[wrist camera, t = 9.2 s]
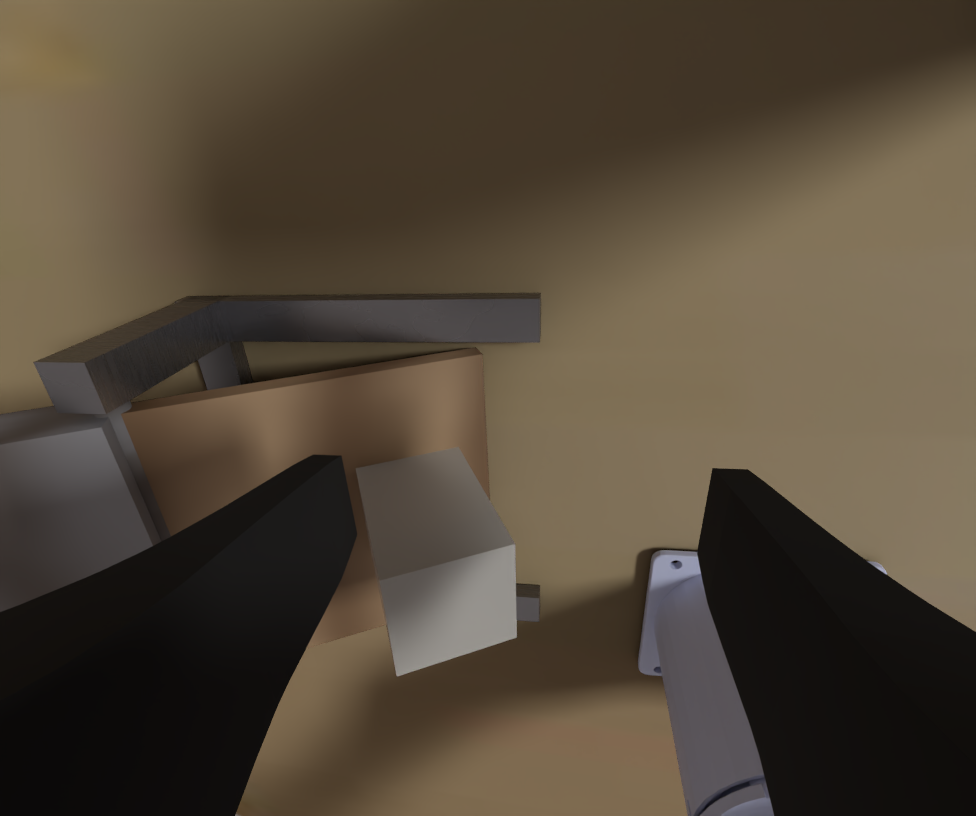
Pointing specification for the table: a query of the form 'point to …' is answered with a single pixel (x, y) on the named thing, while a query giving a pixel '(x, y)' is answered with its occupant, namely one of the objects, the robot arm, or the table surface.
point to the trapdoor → (220, 466)
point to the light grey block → (438, 558)
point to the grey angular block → (292, 318)
